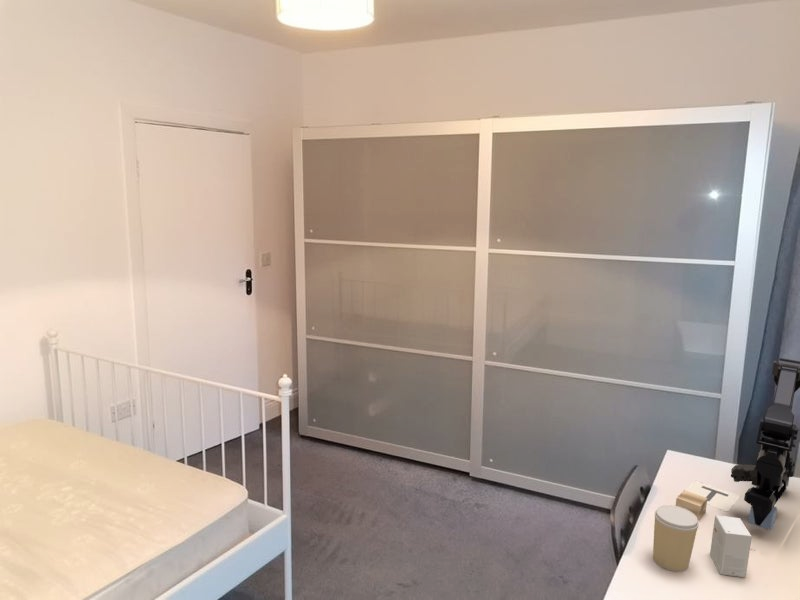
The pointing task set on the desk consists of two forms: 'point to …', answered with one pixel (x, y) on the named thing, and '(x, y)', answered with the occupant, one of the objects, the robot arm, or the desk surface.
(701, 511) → the light oak block
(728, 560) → the small box
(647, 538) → the desk surface
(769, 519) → the slate blue cube
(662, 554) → the coffee cup
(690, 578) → the desk surface
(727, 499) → the board
